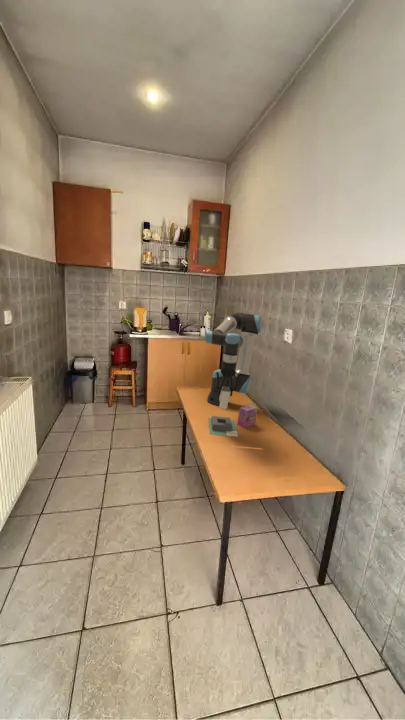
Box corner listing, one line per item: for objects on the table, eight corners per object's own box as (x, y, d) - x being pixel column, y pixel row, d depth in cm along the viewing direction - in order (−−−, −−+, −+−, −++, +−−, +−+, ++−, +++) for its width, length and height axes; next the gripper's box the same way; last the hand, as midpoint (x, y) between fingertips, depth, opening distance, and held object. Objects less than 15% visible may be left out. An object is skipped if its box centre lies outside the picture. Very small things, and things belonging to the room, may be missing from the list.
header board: (208, 418, 183) (208, 412, 182) (233, 421, 184) (234, 414, 183) (209, 435, 162) (210, 428, 161) (238, 438, 163) (239, 431, 162)
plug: (219, 405, 172) (222, 385, 169) (226, 406, 173) (229, 386, 170) (220, 408, 169) (222, 388, 166) (227, 408, 169) (229, 389, 166)
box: (244, 429, 175) (246, 410, 172) (236, 425, 179) (239, 407, 176) (255, 425, 182) (258, 407, 179) (248, 421, 186) (250, 404, 183)
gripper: (214, 361, 160) (209, 402, 166) (246, 364, 160) (239, 404, 166) (213, 358, 167) (209, 397, 173) (243, 361, 168) (238, 399, 174)
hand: (224, 400), depth 170 cm, fingers closed on plug, 4 cm apart
